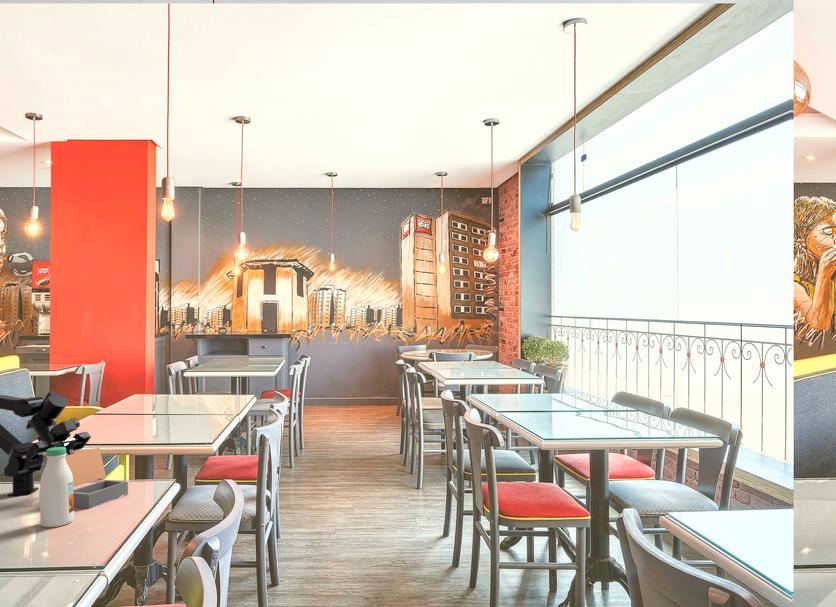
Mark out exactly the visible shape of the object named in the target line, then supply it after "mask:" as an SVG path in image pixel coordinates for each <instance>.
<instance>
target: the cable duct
mask: <svg viewBox="0 0 836 607" xmlns="http://www.w3.org/2000/svg"><path fill="white" fill-rule="evenodd" d="M73 492H74V508H83V509H92V508H95V507H97V506H96V505H98V506H100V505H102V504H101V503H103V504H105V503H104V502H106V503H108V502H107V501H109V500H112V499H114V498H117V497H120V496H122V495H125V494H128V495H129V481H125V480H115V479H113V480H111V479H104V480H101V481H98V482H94V483H91V484H88V485H86V486H82V487H79V488H75V489H73ZM120 498H121V497H120ZM117 499H118V498H117ZM114 500H115V499H114ZM112 501H113V500H112ZM109 502H110V501H109ZM99 504H100V505H99ZM94 506H95V507H94Z"/></svg>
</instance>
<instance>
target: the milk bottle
mask: <svg viewBox="0 0 836 607" xmlns="http://www.w3.org/2000/svg"><path fill="white" fill-rule="evenodd" d="M45 454H46V457H45V458H46V459H47V460H46V464H45V467H44V470H43V471H42V474H41V476H40V482H39V509H40V510H39V512H40V513H39V516H40V517H39V518H40V521H39V522H40V526H41V527H42V528H55V527H61V526H64V525H68V524H70V523H72V522H73V521H74V519H75V507H74V492H73V490H74V487H73V476H72V472H71V470H70V468H69V467H68V465H67V462H66V459H65V456H66V448H65V447H54V448H49V449H47V450H46V452H45Z"/></svg>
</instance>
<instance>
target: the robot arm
mask: <svg viewBox="0 0 836 607" xmlns="http://www.w3.org/2000/svg"><path fill="white" fill-rule="evenodd" d="M68 404H69V400H68V398H67V397H65V396H63V395H61V394H59V393H57V392H56V391H50V392H49V391H48V393H47V394H46V396H45V398H44V397H42V396H31V397H25V398H24V397H18V396H17V397H16V396H11V395H3V394H0V410H5V411H6V410H7V411H10V412H13V414H14V415H16V416H17V417H20V418H26V417H27V418H28V417H31V418H30V419H28V420H27V424H26V429H27V430H30V429H33V430H34V431H35V433H36V434H37V435H38V438H37V441H36V442H33V441H29V442H24V443H22V442H21V441H20V440H19V439H18V438H17V437H15V435H13V434H12V433H11V432H10V431H9V430H7V429H6V428H5V427H4V426H3V425H2V424H1V423H0V449H1V450H2V451H3V452H4V453H5V454H6V455H7V465H6V466H5V467H4V468H3V473H4V476H5V477H10V478H12V480H11V481H12V491H11V492H9V493H8V494H7V496H8V497H11V496H12V497H13V496H22V495H23V496H25V495H31V494H33V493H34V492H36V491H38V490H39V487H38V486H37V487H35V484H34V483H35V482H34V481H35V478H34V475H35V473H34V472H39V471H41V469H42V465H43V461H44V453H45V454H46V450H47V449H49V448H54V447H65V448H66V456H67V455H71V454H75V452H76V451H78V450H82V449H83V448H85V446H86V445H87V444H88V442H89V441H90V439H91V438H92V437H91V435H90V434H89V432H88V431H83V432H79V433H75V434H74V435H73V437H72V438H70V437H71V433H72V432H74V431H77V430H78V428H79V427H80V426H81V424H80V420H78V418H77V417H73V418H70V419H68V420H65V421H61V422H59V423H58V424H57V423H56V421H55V419H58V418H59V417H60V416H61V414H62V412H64V410H65V408H66V407H67V406H68ZM68 438H70V439H68Z"/></svg>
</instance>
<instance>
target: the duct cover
mask: <svg viewBox="0 0 836 607" xmlns="http://www.w3.org/2000/svg"><path fill="white" fill-rule="evenodd" d="M100 448H101V447H99V446H98V447H95V448H92V449H87V450H84V451H80V452H76V453H75V452H74V454H71V455H67V456H65V459H66V462H67V465H68V467H69V468H70V470H71V472H72V476H73V488H75V487H78V486H81V485H85V484H88V483H90V482H94V481H98V480H101V479H105V478H106V477H107V476H106V471H105V466H104V462H103V458H102V452H101V449H100Z"/></svg>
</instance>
